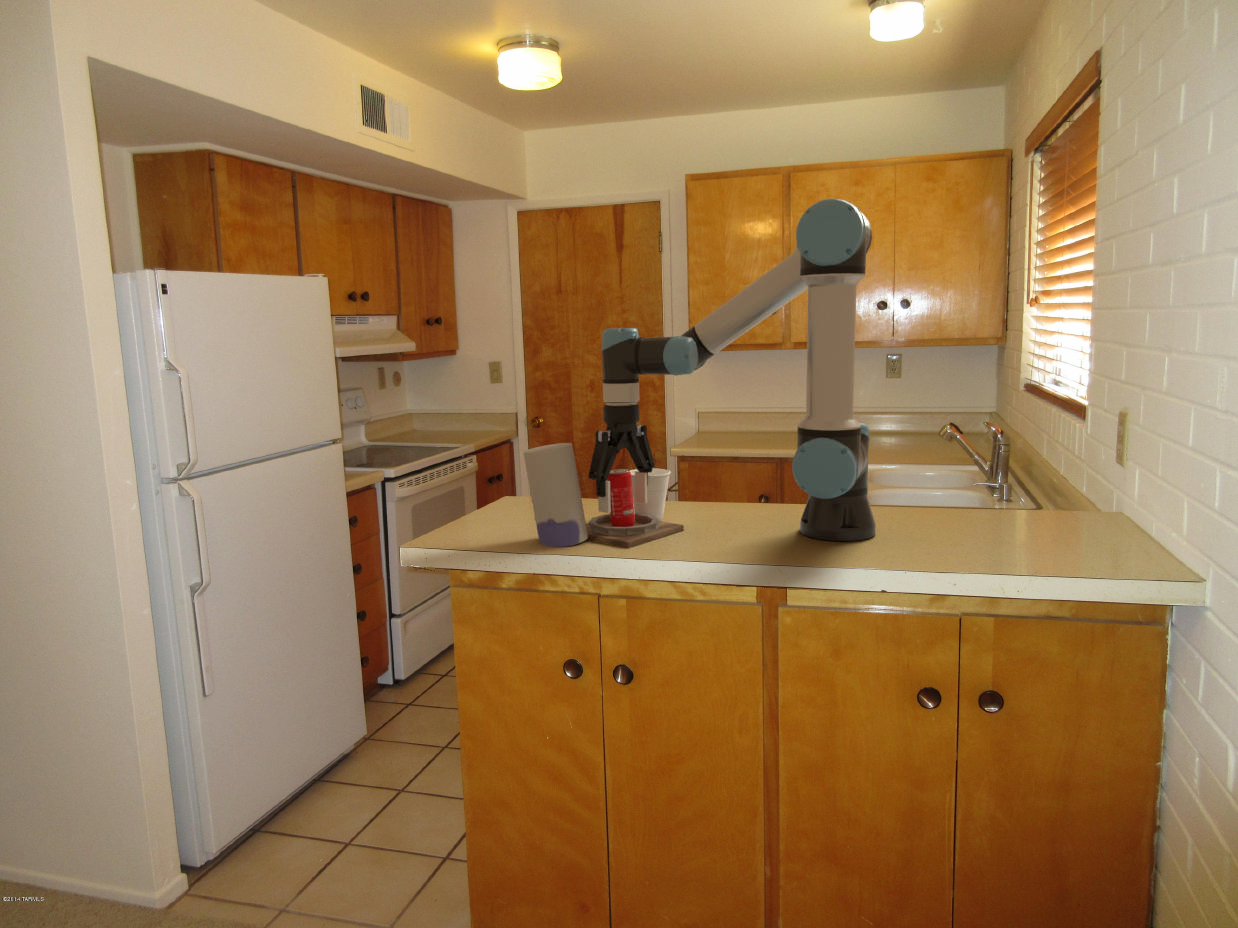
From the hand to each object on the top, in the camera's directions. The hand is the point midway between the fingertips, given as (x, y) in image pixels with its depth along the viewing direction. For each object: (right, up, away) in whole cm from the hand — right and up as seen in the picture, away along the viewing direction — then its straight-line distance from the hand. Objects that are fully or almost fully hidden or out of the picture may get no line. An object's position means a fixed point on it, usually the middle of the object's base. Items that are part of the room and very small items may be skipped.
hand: (623, 507), depth 180 cm
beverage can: (0, -4, +1) cm, 4 cm away
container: (-12, -7, -5) cm, 15 cm away
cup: (+6, -4, +13) cm, 14 cm away
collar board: (0, -6, +1) cm, 6 cm away
